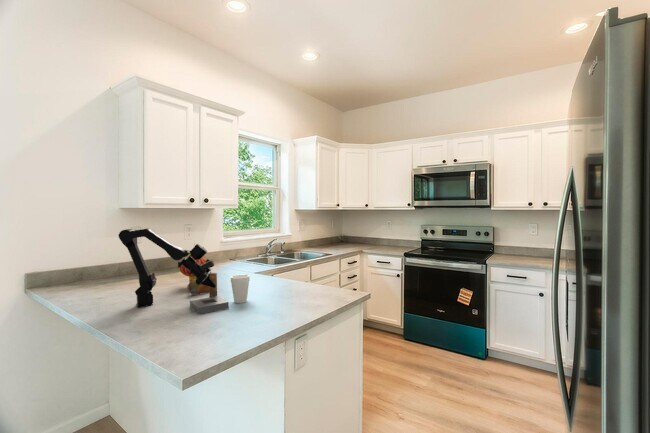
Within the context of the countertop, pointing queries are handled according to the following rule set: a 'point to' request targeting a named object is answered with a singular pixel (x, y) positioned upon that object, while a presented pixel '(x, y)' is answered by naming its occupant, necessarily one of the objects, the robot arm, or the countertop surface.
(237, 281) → the foam cup
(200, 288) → the tin
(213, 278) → the peg
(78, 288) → the countertop surface
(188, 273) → the lantern
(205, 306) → the socket block
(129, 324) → the countertop surface
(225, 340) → the countertop surface
